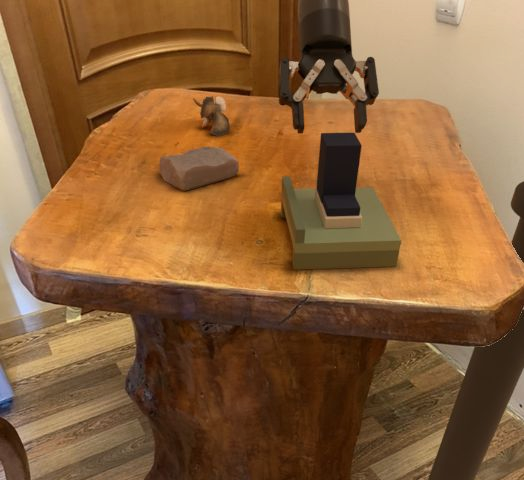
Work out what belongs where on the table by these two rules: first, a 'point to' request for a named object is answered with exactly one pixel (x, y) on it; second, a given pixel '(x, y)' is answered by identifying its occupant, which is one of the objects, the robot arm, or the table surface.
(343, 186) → the high-top shoe
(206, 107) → the brown animal figurine
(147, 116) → the table surface
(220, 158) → the stone block
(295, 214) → the green flanged plate
